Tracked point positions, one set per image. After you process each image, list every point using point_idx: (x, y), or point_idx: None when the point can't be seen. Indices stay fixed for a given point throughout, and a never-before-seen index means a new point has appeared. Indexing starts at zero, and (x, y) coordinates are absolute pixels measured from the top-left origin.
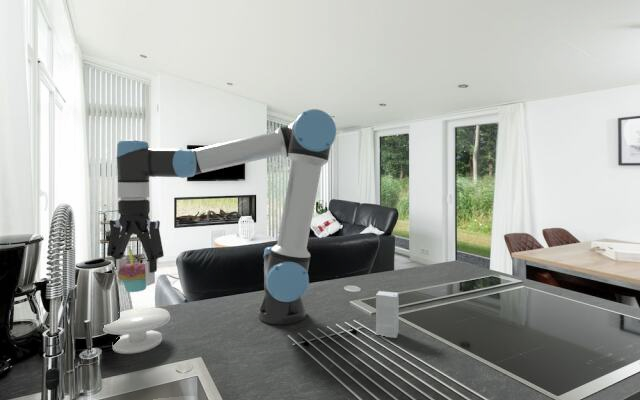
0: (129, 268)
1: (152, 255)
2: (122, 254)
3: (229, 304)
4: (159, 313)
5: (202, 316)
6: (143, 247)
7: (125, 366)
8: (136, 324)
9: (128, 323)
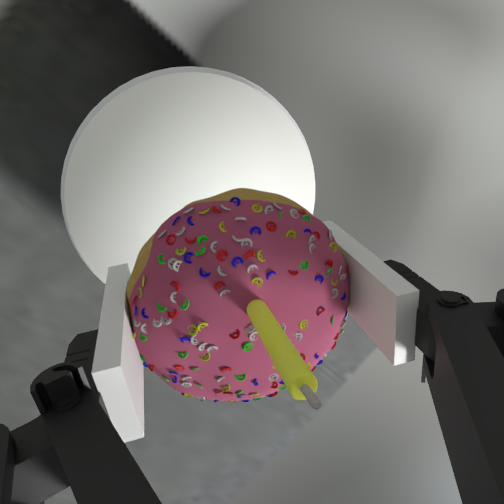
0: (232, 260)
1: (50, 447)
2: (428, 365)
3: (157, 494)
4: None
5: (163, 404)
6: (144, 485)
7: (70, 28)
8: (133, 150)
9: (176, 145)
